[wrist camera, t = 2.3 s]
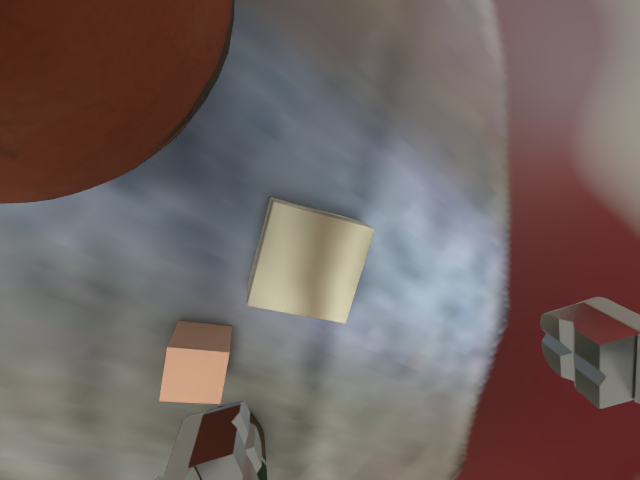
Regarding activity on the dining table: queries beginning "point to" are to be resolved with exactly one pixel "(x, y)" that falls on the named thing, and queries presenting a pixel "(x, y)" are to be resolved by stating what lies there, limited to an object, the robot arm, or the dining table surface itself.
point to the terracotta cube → (196, 363)
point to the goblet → (99, 86)
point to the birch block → (308, 261)
